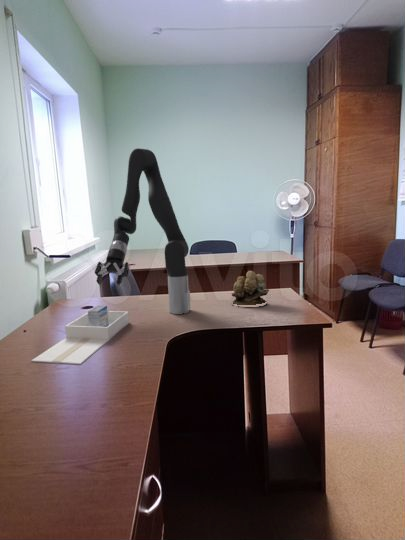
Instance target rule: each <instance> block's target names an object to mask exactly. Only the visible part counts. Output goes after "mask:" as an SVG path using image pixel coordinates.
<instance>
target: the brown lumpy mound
mask: <svg viewBox="0 0 405 540" xmlns="http://www.w3.org/2000/svg"><path fill="white" fill-rule="evenodd" d="M269 292H270V289H267V288H266V283H265V277H264V275H263V274H260V273H257V274H256V272H255V271H253V270H248V271H247V272H246V275H245V276H241V275H240V276H238V277H237V279H236V281H235V283H234V284H233V293H231V296H232V297H234V298H235V299H233V301H232V302H233V304H237V305H256V304H262V303H265V302H267V301H266V300H265V299H264V298H263V296H267V295H268V293H269Z"/></svg>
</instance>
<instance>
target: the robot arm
mask: <svg viewBox="0 0 405 540" xmlns="http://www.w3.org/2000/svg"><path fill="white" fill-rule="evenodd" d="M156 157H157V156H156V155H155V153H154V152H153V151H152V150H150V149H147V148H135V149H132V150H131V152H130V154H129V157H128V163H127V164H128V166H127V175H126V178H127V179H126V187H125V194H124V198H123V202H122V205H121V212H122V213H123V214H125V215H126V216H128V217H129V218H128V217H124V216H120V215H119V216H116V217H115V219H114V222H113V228H114V229H113V230H114V231H113V238H112V241H111V243H110V247H109V249H108V251H107V255H106V259H105V262H101V261H98V262H97V264H96V267H95V270H94V275H96V276H97V277H96V282H97V284H98V285H102V280H103V277H104V276H106V275H108V274H116V273H118V275H117V278H116V284H117V286H120V285H121V284H122V281H123V278H125V277H126V278H127V277H128V276H129V273H130V264H129V262H127V261H126V262H125V259H126V255H127V250H128V245H129V241H130V236H129V235H133V234H134V233H135V232H136V230H137V214H138V213H137V212H138V208H139V204H140V199H141V192H140V179H141V176H142V173H144V175H145V178H146V180H147V183H148V194H147V195H148V196H147V197H148V200H147V201H148V204H149V207H150V210H151V212H152V215H153V216H154V217H153V218H155V220H156V221H157V223H158V224H159V226H160V227H161V228H162V230H163V233H164V234H165V236H166V240H167V243H166V245H165V247H164V262H165V263H164V264H165V269H166V272H167V288H168V290H167V291H168V305H169V307H168V308H169V313H170V314H172V315H183V313H184V314H189V312H190V311H191V310H190V309H191V292H190V289H189V288H190V287H189V271H188V268H187V265H186V257H187V256H188V255H189V250H190V249H189V245H188V243H187V240H186V238H185V237H184V235H183V232H182V230H181V228H180V225H179V222H178V220H177V216H176V213H175V211H174V208H173V205H172V203H171V202H172V201H171V200H170V197H169V195H168V192H167V189H166V187H165V183H164V181H163V177H162V176H161V171H160V167H159V164H158V161H157V158H156ZM128 234H129V235H128ZM121 269H123V272H122V271H121ZM189 310H190V311H189Z"/></svg>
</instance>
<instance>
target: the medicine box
mask: <svg viewBox="0 0 405 540" xmlns="http://www.w3.org/2000/svg"><path fill="white" fill-rule="evenodd" d="M108 311H109V310H108V306H107V305H97V306H95V307H93V308H92V309H89V311H87V313H88V319H89V326H94V327H107V326H109V322H108Z"/></svg>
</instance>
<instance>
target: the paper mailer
mask: <svg viewBox="0 0 405 540" xmlns="http://www.w3.org/2000/svg"><path fill="white" fill-rule="evenodd" d="M107 311H108V322H109V326H107V327H94V326H89V319H88V312H87V313H85V314H82V315H81V316H79V317H78V318H76V319H74V320H73V321H71V322H69V323H67V324H66V325H65V326H64V329H65V338H64V339H62V340H61V341H58V342H57V343H56V344H54V345H53V346H51V347H50V348H49V349H46V350H45V351H44V352H42V353H40V354H39V355H38V356H36V357H34V358H33V359H31V362H33V363H50V364H65V365H67V364H68V365H70V364H71V365H82V364H84V362H85V361H86V360H88V359H89V358H90V357H91V356H93V355H94V354H95V353H96V352H97V351H99V349H101V348H102V347H103V346H104V345H105V344H107V343H108V342H109V341H110V340H111V339H112V338H113V337H116V335H117V334H118V333H120V332H121V331H122V330H123V329H124V328H126V326H129V324H130V312H129V311H123V310H121V311H118V310H117V311H116V310H107Z"/></svg>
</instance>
